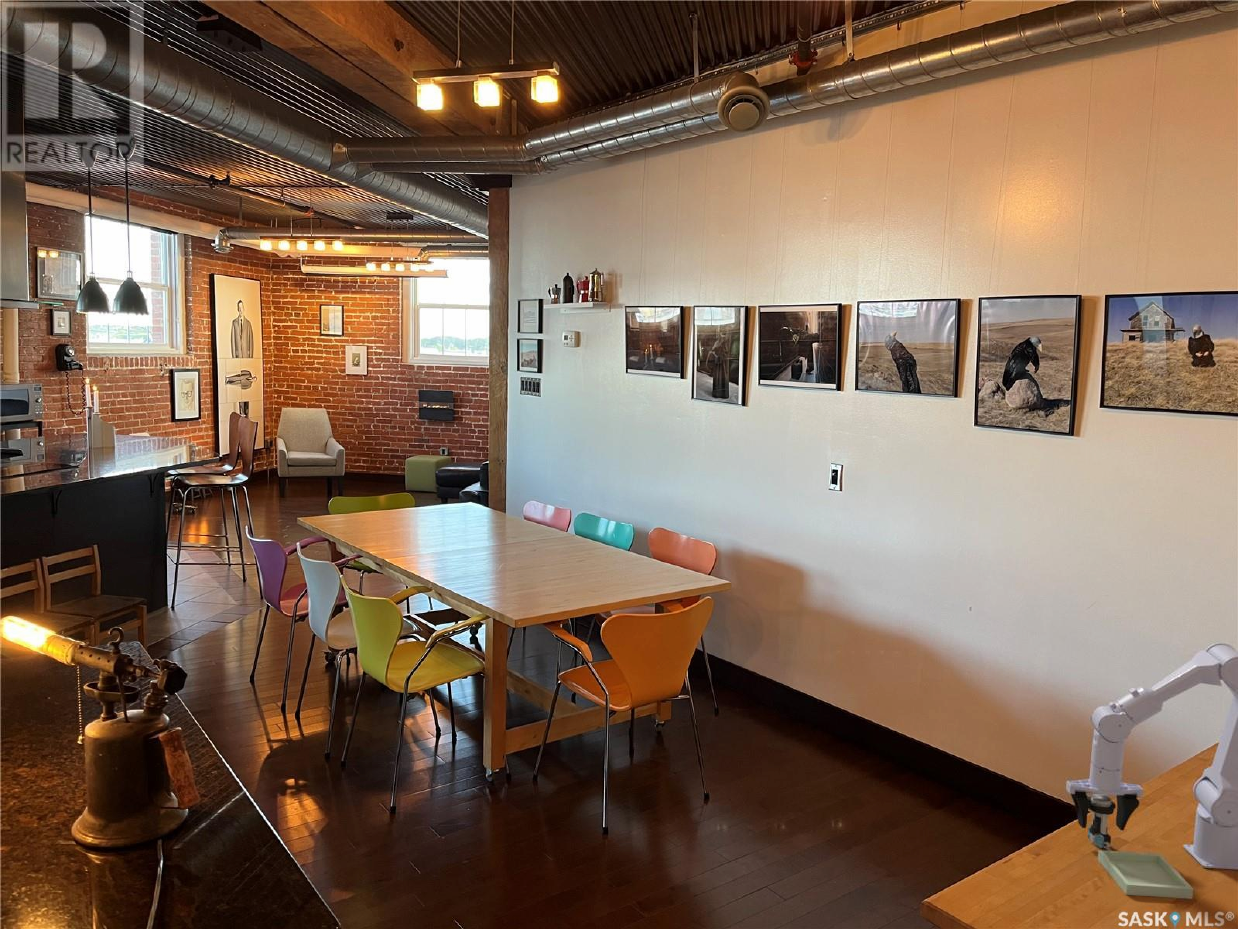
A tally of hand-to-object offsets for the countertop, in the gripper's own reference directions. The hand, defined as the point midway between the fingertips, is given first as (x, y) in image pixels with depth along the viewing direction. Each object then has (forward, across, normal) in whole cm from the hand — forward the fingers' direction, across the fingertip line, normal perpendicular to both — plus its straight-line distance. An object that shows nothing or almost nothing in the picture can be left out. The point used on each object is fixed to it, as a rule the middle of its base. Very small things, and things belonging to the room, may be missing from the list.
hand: (1101, 826), depth 186 cm
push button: (+4, 0, 0) cm, 4 cm away
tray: (+4, -3, +12) cm, 13 cm away
